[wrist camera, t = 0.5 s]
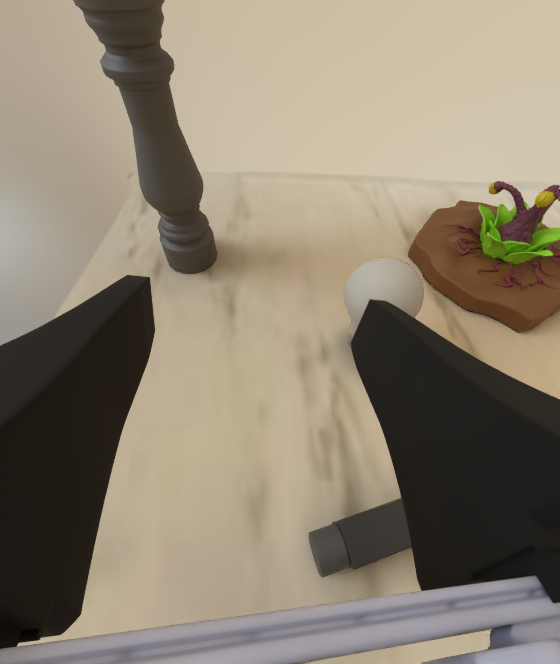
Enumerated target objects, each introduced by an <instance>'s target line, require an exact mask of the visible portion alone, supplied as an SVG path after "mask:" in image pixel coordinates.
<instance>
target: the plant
mask: <svg viewBox="0 0 560 664" xmlns="http://www.w3.org/2000/svg"><path fill="white" fill-rule="evenodd" d="M559 187H560V186H559V185H552V186H550V187H548V189H545V190H544V191H542V192H541V193H540V194H539V195H538V196H537V197H536V199H535V205H534V206H533V207H532V208H529V206H528V205H527V203H526V202H524V201H523V198H522V196H521V193H520V192H519V191H518V190H517V189H516V188H514V187H513V186H512V185H509V184H506V183H504V182H500V181H498V182H494V183H492V184H491V185H490V187H489V193H490V194H497V193H499V192H500V191H501V190H502V189H505V190H507V191H509V192H510V193H511V194H512V196H513V198H514V201H515V205H516V206H515V207H514V208H513V209H512V210H511V211H508V209H507V208H506V207H505V206H504V205H503V204H500V205H499V206H498V207H495V206H491V205H488V204H484V203H479V202H467V201H459V202H458V203H457V204H456V206H454V207H450V208H444V209H437V210H436V211H435V212H434V213H433V214H432V215H431V217H430V218H429V219H428V221H427V222H426V223H425V225H424V226H423V228H422V229H421V230H420V231H419V233H418V234H417V236H416V237H415V239H414V241H413V243H412V245H411V247H410V249H409V253H408V255H409V257H410V258H411V259H412V260H413V261H414V262H415V263H416V264H417V265H418V266H419V268H420V269H421V270H422V272H423V275H424V277H425V278H426V280H427V281H428V282H429V283H430V284H431V285H432V286H433V287H434V288H436V289H437V290H438V291H440V292H441V293H443V294H444V295H446V296H447V297H449V298H450V299H451V300H453V301H454V302H455V303H457V304H458V305H460V306H461V307H462V308H464V309H466V310H469V311H473V312H479V313H483V314H486V315H489V316H491V317H493V318H495V319H497V320H499V321H500V322H502V323H504V324H506V325H507V326H509V327H511V328H512V329H514V330H515V331H517V332H519V333H520V332H522V331H524V330H527V329H532V328H534V327H536V326H537V325H538V324H540V323H541V322H542V321H543V320H545V319H546V318H547V317H548V316H551V315H553V314H554V313H555V312H557V311H558V310H559V309H560V228H548V227H547V226H545V225H544V224H542V223H541V222H542V220H543V215H544V214H545V213H546V211H547V210H548V209H549V207H550V206H551V205H552V204H553V202H554V201H555V200H557V199H558V200H559V201H560V189H558V188H559Z"/></svg>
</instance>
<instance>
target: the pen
mask: <svg viewBox="0 0 560 664" xmlns="http://www.w3.org/2000/svg"><path fill="white" fill-rule="evenodd" d="M309 541H310V545H311V549H312V553H313V556H314V560H315V563H316V566H317V569H318V571H319V574H320V576H321V577H325V576H328V575H330V574H333V573H335V572H338V571H340V570H343V569H345V568H348V567H351V568H353V569H357V568H360V567H362V566H365V565H367V564H370V563H372V562H375V561H377V560H380V559H382V558H385V557H387V556H390V555H393V554H395V553H398V552H400V551H403V550H405V549H408V548H410V547H412V545H411V540H410V535H409V529H408V524H407V519H406V515H405V511H404V506H403V502H402V498H400V499H397V500H394V501H392V502H389V503H386V504H383V505H380V506H378V507H375V508H372V509H369V510H366V511H364V512H361V513H358V514H355V515H353V516H350V517H347V518H344V519H341V520H339V521H336V522H333V523H332V525H329V526H326V527H324V528H321V529H318V530H315V531H312V532H310V533H309Z"/></svg>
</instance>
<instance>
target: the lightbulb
mask: <svg viewBox="0 0 560 664" xmlns="http://www.w3.org/2000/svg"><path fill="white" fill-rule="evenodd" d="M423 297H424V288H423V285H422V281H421V279H420V277H419V275H418V274H417V272H416V271H415V269H414V268H413V267H411V266H410V265H409V264H407V263H406V262H404V261H401V260H399V259H396V258H391V257H380V258H376V259H372V260H370V261H367V262H366V263H364V264H362V265H361V266H359V267H358V268H357V269H356V270H355V271H354V272H353V274H352V275H351V276H350V278H349V280H348V282H347V284H346V288H345V305H346V307H347V310H348V313H349V315H350V317H351V323H350V334H349V338H348V343H349V345H350V347H351V344H350V343H351V341H352V338H353V336H354V334H355V331H356V329H357V327H358V325H359V322H360V320H361V318H362V316H363V313H364V311H365V309H366V306H367V304H368V302H369V300H370V299H374V300H384V301H387V302H389V303H391V304H393V305H395V306H396V307H398V308H400V309H401V310H403V311H404V312H406V313H407V314H409V315H410V316H412V317H413V318H415V317H416V315H417V314H418V312H419V310H420V309H421V306H422V302H423Z"/></svg>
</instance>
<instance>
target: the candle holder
mask: <svg viewBox="0 0 560 664" xmlns="http://www.w3.org/2000/svg"><path fill="white" fill-rule="evenodd" d="M74 2H75V5H76V6H78V7H79V8H80V9H81V10H82V11H83V13H84V17H85V20H86V22H87V24H88V25H89V26H90V27H91V28H92V29H93V31H94V32H95V33H96V35H97V36H98V38H99V40H100V42H101V43H103V44H104V45H105V48H106V52H105V54H104V55H103V57H102V59H101V61H100V63H101V66H102V68H103V71H104V73H105V75H106V76H107V77H109V78H110V79H113V80H114V82H115V85H116V86H118V87H119V90H120V92H121V95H122V98H123V101H124V104H125V107H126V110H127V113H128V116H129V119H130V122H131V125H132V128H133V136H134V143H135V151H136V158H137V166H138V174H139V182H140V187H141V190H142V193H143V195H144V198H145V199H146V201H147V202H148V203H149V204H150V205H151V206H152V207H153V208H155V209H156V210H158V213H159V215H160V216H161V219H160V221H159V224H158V229H159V232H160V235H161V236H160V241H161V244H162V246H163V249H164V252H165V254H166V257H167V260H168V262H169V265H170V266H171V267H172V268H173V269H174V270H175V271H178V272H181V273H198V272H201V271H204V270H206V269H207V268H209V267H211V266H212V265H213V263H214V262H215V260H216V256H217V251H216V246H215V241H214V236H213V232H212V230H211V228H210V226H209V221H208V219H207V217H206V216H205V214H203V213H202V212H201V211H200V210H199V207H200V205H199V203H200V201H201V198H202V193H203V180H202V177H201V175H200V173H199V171H198V168H197V166H196V164H195V162H194V159H193V157H192V155H191V152H190V150H189V148H188V145H187V143H186V141H185V138H184V136H183V134H182V131H181V129H180V127H179V125H178V120H177V116H176V112H175V107H174V103H173V99H172V94H171V90H170V85H169V81H170V75H171V74H172V72H173V70H174V62H173V59H172V58H171V56H170V55H169V54H168V53H167V52H166V51H164V50H163V49H161V47H160V39H161V37H162V34H161V28H162V24H163V21H164V16H163V13H162V9H161V7H162V4H163V3H164V0H74Z"/></svg>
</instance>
